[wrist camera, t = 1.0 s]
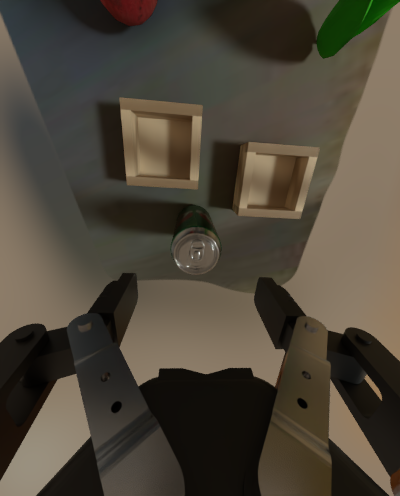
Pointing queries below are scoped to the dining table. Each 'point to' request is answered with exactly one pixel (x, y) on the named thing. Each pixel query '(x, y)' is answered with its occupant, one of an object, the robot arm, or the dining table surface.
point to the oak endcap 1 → (161, 143)
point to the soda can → (195, 241)
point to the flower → (349, 23)
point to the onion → (130, 10)
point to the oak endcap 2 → (273, 179)
